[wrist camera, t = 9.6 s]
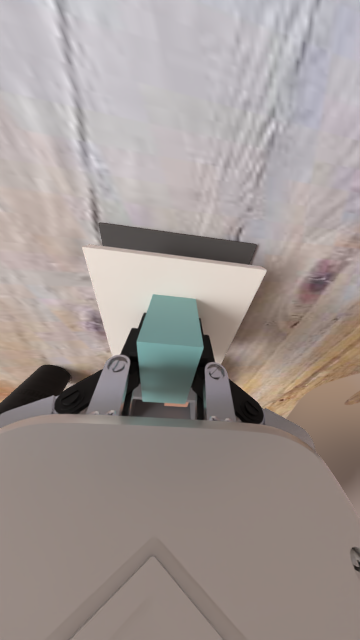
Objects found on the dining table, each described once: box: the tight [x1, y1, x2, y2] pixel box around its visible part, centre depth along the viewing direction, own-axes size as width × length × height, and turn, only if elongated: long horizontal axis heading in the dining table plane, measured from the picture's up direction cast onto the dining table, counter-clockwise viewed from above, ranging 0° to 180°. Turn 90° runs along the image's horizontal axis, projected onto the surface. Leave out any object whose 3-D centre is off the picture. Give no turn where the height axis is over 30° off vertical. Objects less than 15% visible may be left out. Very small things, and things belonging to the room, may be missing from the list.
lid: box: [82, 244, 267, 404], centre depth 11 cm, size 11×11×6 cm
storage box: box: [130, 384, 196, 420], centre depth 20 cm, size 10×10×7 cm
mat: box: [99, 223, 257, 265], centre depth 16 cm, size 13×13×1 cm
